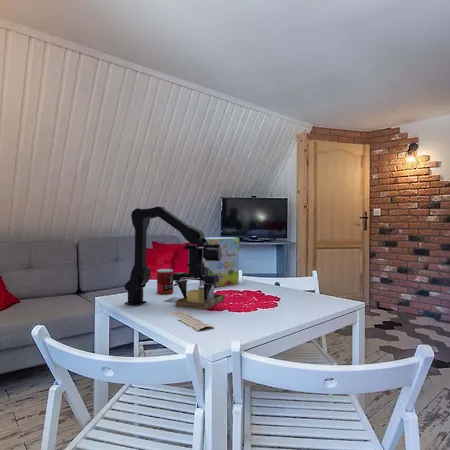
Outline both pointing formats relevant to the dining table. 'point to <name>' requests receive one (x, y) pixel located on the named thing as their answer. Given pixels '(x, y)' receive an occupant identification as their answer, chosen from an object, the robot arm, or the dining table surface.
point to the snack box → (224, 261)
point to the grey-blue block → (210, 295)
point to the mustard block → (195, 296)
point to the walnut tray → (204, 306)
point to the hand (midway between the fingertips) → (195, 299)
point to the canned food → (164, 281)
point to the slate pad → (172, 300)
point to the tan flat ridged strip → (189, 320)
